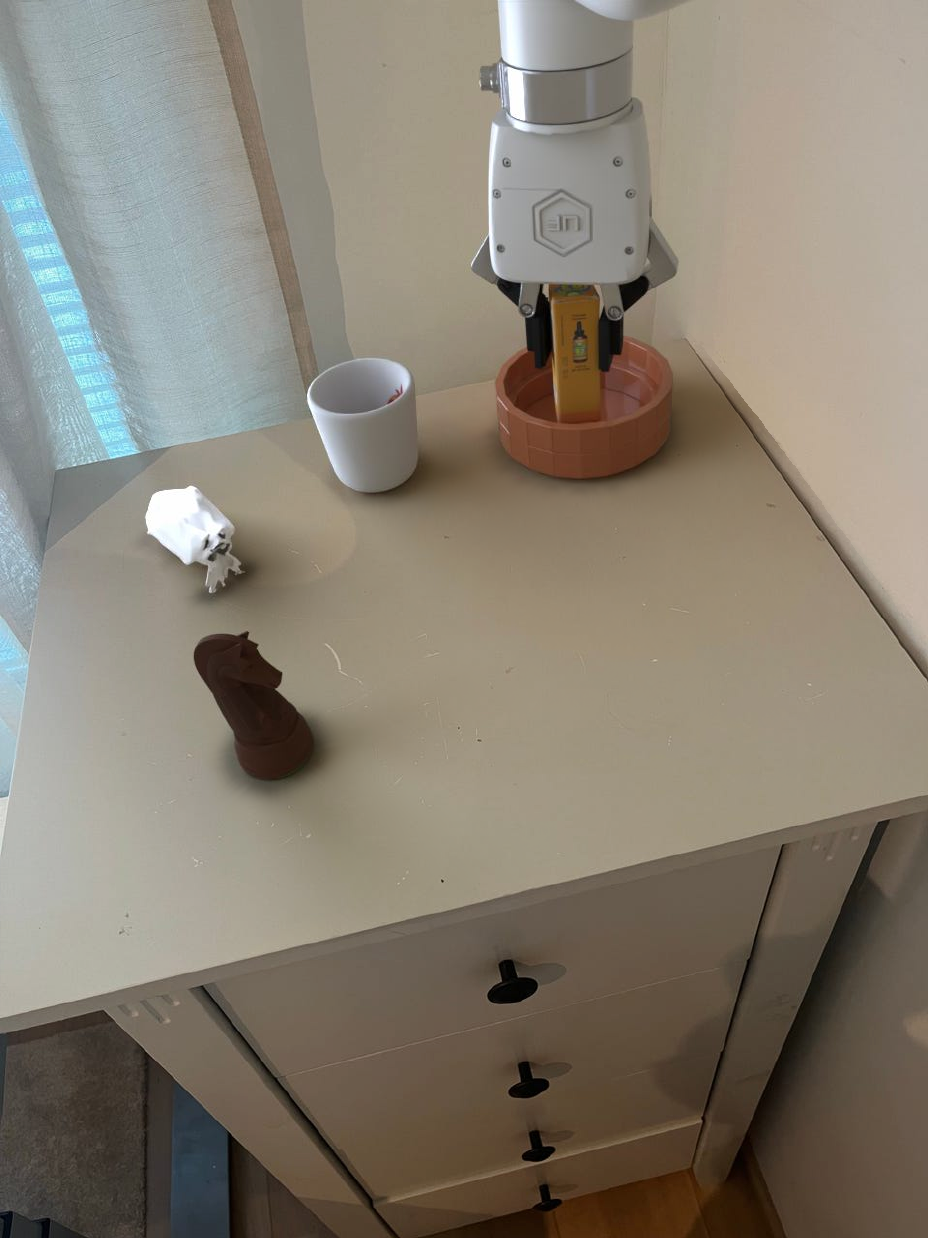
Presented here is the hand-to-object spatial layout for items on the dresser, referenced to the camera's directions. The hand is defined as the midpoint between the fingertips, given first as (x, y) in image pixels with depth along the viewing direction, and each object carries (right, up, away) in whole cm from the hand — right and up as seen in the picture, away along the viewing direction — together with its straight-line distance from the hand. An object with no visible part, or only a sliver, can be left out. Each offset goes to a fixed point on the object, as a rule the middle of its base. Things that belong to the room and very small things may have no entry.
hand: (575, 357), depth 70 cm
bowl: (+2, -4, +7) cm, 9 cm away
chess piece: (-20, -27, -11) cm, 35 cm away
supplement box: (+1, -3, +3) cm, 5 cm away
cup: (-15, -7, +8) cm, 18 cm away
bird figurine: (-28, -14, +2) cm, 31 cm away
